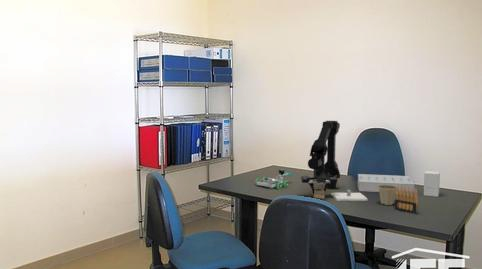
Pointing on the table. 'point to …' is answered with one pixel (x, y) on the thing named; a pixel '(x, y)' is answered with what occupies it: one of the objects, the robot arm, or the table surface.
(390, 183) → the warehouse
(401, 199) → the ammunition clip
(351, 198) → the jaw base
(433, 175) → the supplement box
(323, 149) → the robot arm
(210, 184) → the table surface
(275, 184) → the robot kit
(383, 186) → the flower pot
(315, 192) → the jaw block
